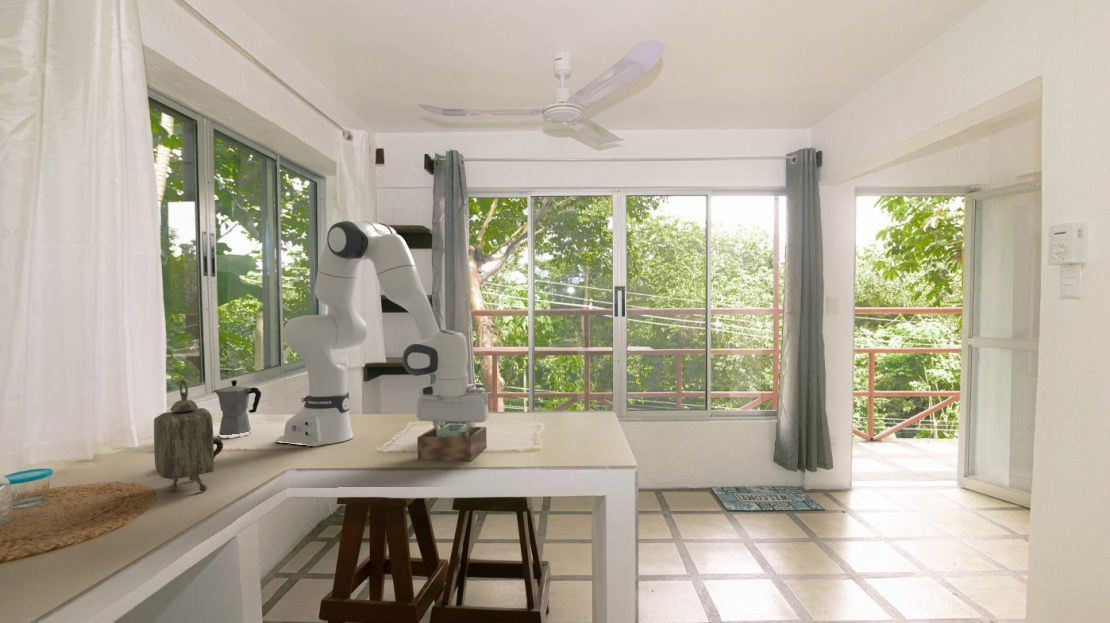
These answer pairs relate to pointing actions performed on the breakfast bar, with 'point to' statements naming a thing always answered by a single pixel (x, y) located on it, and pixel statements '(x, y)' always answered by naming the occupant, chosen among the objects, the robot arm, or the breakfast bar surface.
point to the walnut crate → (451, 445)
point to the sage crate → (452, 430)
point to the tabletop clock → (184, 442)
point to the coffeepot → (236, 408)
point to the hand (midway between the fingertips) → (453, 436)
